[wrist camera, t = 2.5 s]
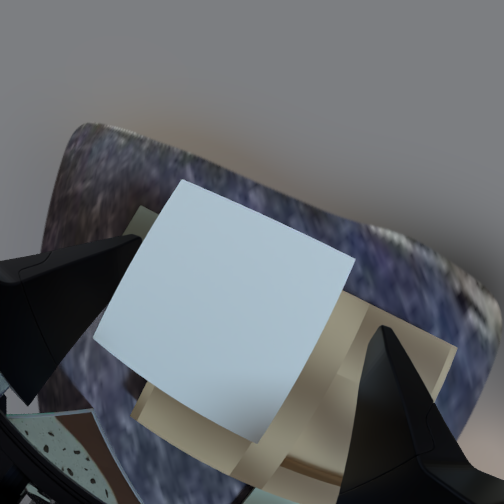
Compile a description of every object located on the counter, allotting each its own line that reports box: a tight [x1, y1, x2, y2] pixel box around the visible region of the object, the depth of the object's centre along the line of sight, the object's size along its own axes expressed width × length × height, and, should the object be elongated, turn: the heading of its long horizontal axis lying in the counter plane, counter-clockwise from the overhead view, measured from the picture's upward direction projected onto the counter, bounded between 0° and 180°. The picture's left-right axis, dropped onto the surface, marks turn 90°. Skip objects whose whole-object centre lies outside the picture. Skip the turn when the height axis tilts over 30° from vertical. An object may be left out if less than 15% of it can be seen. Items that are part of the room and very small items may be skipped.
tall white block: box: [93, 179, 356, 444], centre depth 11 cm, size 4×4×11 cm
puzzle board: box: [122, 206, 457, 504], centre depth 14 cm, size 18×22×2 cm
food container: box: [6, 408, 145, 504], centre depth 9 cm, size 12×6×10 cm, turn 24°
